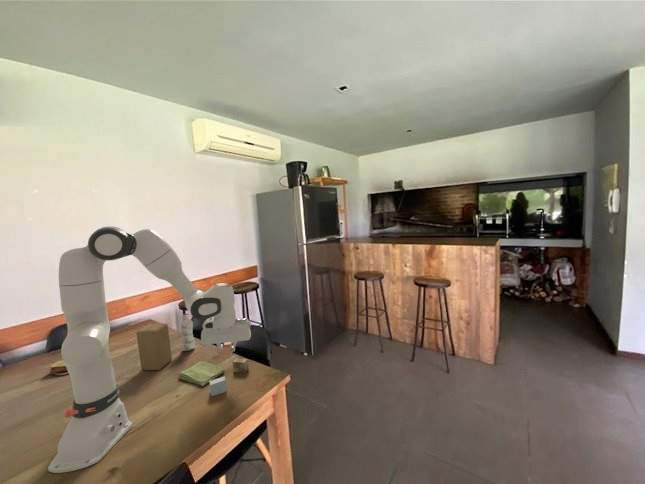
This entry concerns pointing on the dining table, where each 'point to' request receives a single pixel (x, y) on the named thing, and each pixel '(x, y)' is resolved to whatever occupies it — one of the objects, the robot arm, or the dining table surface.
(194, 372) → the washcloth
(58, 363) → the toy sandwich meal
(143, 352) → the block
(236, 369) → the brick walnut
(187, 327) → the plastic bottle
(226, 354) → the brick terracotta
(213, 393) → the brick slate
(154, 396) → the dining table surface
